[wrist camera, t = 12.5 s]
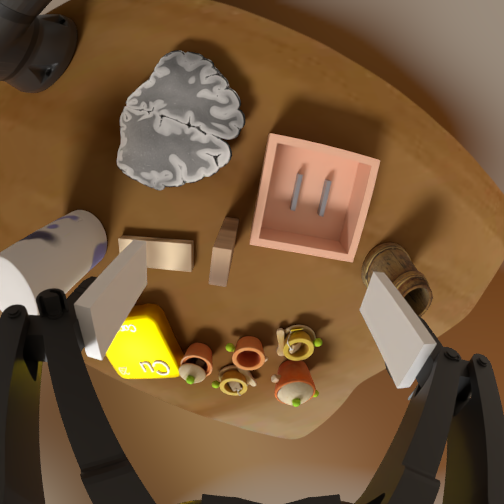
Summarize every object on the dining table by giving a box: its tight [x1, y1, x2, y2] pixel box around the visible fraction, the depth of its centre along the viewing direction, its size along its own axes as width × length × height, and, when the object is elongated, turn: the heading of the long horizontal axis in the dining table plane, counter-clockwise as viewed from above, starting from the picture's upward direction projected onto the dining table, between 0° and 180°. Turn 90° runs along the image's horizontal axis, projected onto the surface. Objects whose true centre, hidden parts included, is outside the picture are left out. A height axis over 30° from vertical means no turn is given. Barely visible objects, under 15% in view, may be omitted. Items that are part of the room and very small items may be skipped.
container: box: [0, 210, 107, 315], centre depth 34 cm, size 10×10×20 cm
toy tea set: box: [179, 325, 322, 407], centre depth 48 cm, size 26×16×10 cm, turn 101°
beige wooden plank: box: [118, 235, 194, 272], centre depth 43 cm, size 12×4×2 cm, turn 86°
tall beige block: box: [209, 217, 239, 287], centre depth 37 cm, size 4×2×12 cm, turn 170°
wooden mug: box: [362, 242, 433, 379], centre depth 36 cm, size 9×14×18 cm, turn 162°
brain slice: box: [117, 50, 245, 190], centre depth 35 cm, size 20×17×3 cm
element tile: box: [105, 303, 184, 379], centre depth 49 cm, size 15×15×5 cm
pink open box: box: [250, 133, 380, 262], centre depth 37 cm, size 14×14×6 cm
